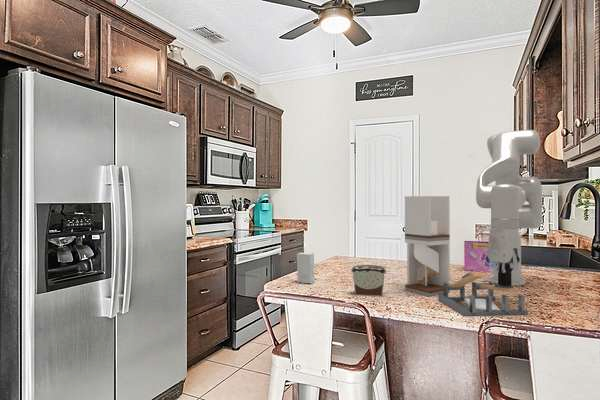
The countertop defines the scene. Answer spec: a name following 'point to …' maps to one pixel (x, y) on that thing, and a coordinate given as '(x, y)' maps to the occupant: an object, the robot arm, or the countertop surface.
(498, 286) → the strap
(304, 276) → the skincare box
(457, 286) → the strap
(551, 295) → the countertop surface
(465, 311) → the grey dish rack
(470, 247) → the gum box
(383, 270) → the food container
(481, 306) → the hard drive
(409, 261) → the white dispenser tower
